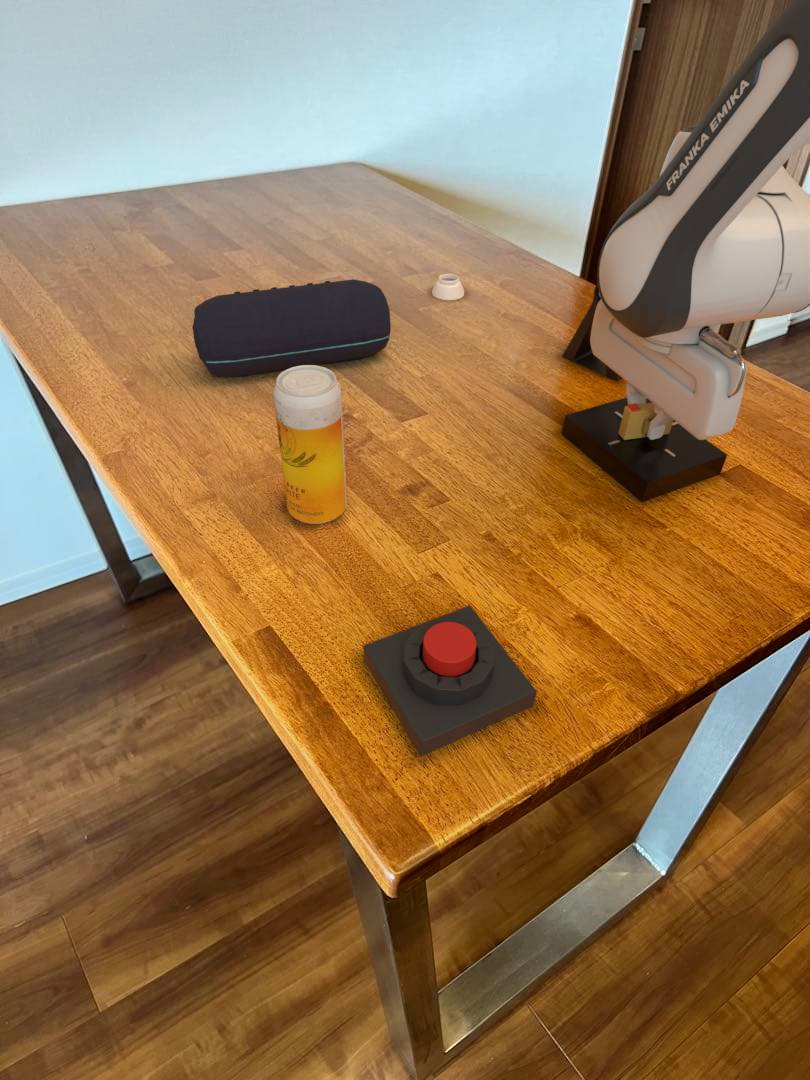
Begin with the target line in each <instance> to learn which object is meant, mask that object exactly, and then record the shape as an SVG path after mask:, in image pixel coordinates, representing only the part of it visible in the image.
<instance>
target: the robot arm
mask: <svg viewBox="0 0 810 1080" xmlns="http://www.w3.org/2000/svg"><path fill="white" fill-rule="evenodd" d="M809 143H810V0H792V1H791V2H790V3H789V4H788V5H787V6H786V7H785V9H784V10H782V12H781V13H780V14H779V15H778V16H777V18H776V19H775V20H774V21H773V23H772V24H771V25H770V26H769V27H768V29H767V30H766V31H765V33H763V35H762V37H761V38H760V39H759V40H758V41H757V43H756V44H755V45H754V46H753V48H752V49H751V51H750V52H749V54H748V55H747V56H745V59H743V61H742V63H741V64H740V65H739V67H738V68H737V70H736V71H735V72H734V73H733V75H732V76H731V78H730V79H729V81H728V82H727V83H726V84H725V86H724V88H723V89H722V90H721V91H720V93H719V94H718V96H717V97H716V98H715V100H714V101H713V103H712V104H711V105H710V107H709V108H708V110H707V111H706V112H705V113H704V115H703V117H702V118H700V120H699V122H698V123H694V124H691V125H687V126H686V127H684V128H683V129H681V130H680V131H679V132H677V134H676V135H675V137H674V139H673V140H672V143H671V144H670V147H669V148H668V151H667V153H666V156H665V160H664V162H663V164H662V167H661V170H660V173H659V177H658V178H657V179H656V181H654V183H653V184H652V185H651V186H650V187H649V188H648V190H646V191H645V192H644V193H643V194H642V195H640V196H639V197H638V198H637V199H636V200H635V201H634V202H632V203H631V204H630V205H629V206H628V208H627V209H625V211H624V212H623V213H622V214H621V216H619V218H618V219H617V220H616V222H615V223H614V225H612V228H611V229H610V231H609V232H608V234H607V236H606V238H605V239H604V242H603V244H602V247H601V249H600V253H599V257H598V263H597V270H596V271H597V273H596V280H597V282H596V283H597V284H598V289H599V296H600V297H601V300H600V301H599V303H598V304H597V307H596V310H595V315H594V319H593V324H592V330H591V336H590V344H591V349H592V352H593V354H594V355H595V356H596V357H597V358H598V359H600V360H601V361H602V362H603V363H605V364H606V365H607V366H608V367H610V368H611V369H612V370H613V371H614V372H616V373H617V374H618V375H619V376H621V377H622V378H623V379H622V380H624V381H625V382H626V383H625V394H626V398H627V401H628V404H637V405H638V404H646V398H647V399H648V400H650V401H651V402H652V403H654V404H655V409H654V412H655V413H656V414H657V415H656V417H654V418H653V419H646V420H644V424H643V427H644V428H642V432H643V433H644V434H645V435H646V436H647V437H648V438H649V439H651V440H653V439H658V438H660V437H662V436H663V434H664V430H665V427H666V424H668V423H669V422H670V421H671V420H672V419H673V420H675V421H676V422H677V423H678V424H679V425H681V426H682V427H683V428H684V429H686V430H687V431H688V432H689V433H690V434H692V435H693V436H694V437H695V438H697V439H699V440H710V439H714V438H718V437H721V436H724V435H727V434H729V433H730V432H731V431H733V429H734V427H735V425H736V422H737V420H738V416H739V413H740V408H741V404H742V401H743V395H744V390H745V385H746V384H745V383H746V376H747V373H748V366H747V365H746V363H745V359H744V357H743V356H742V350H741V348H739V346H738V345H736V344H735V343H733V342H730V341H728V340H726V339H725V338H724V337H723V336H722V335H720V334H719V332H720V328H721V326H722V325H727V324H736V323H743V322H746V321H755V320H763V319H772V318H777V317H783V316H787V315H790V314H796V313H799V312H802V311H804V310H806V309H807V308H808V307H810V194H809V193H808V192H807V191H806V190H805V189H803V188H802V186H800V184H799V183H798V182H797V181H796V180H795V179H794V178H793V176H791V175H790V173H789V172H788V171H787V169H786V168H785V167H784V165H785V164H786V162H787V161H789V160H790V159H791V157H793V156H794V155H795V154H796V153H798V152H799V151H800V150H801V149H802V148H803V147H805V146H806V145H808V144H809Z"/></svg>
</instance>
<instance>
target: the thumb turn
mask: <svg viewBox="0 0 810 1080" xmlns="http://www.w3.org/2000/svg"><path fill="white" fill-rule="evenodd" d="M654 409H655V404H654V403H646V404H638V405H637V404H628V406H625V409H624V413H623V417H622V421H621V425H620V429H619V435H620V436H621V437H622V438H623V440H628V439H636V438H643V437H647V436H646V435H645V434H644V433H643V432H642V428H644V427H643V424H644V420H646V419H653V418H654V417H656V415H657V414H656V413H655V412H654ZM672 423H673V419H672V420H671V421H670V422H669V423H668V424H666V427H665V430H664V434H663V435H665V434H669V433H670V430H671V426H672Z"/></svg>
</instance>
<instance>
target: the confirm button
mask: <svg viewBox="0 0 810 1080" xmlns="http://www.w3.org/2000/svg"><path fill="white" fill-rule="evenodd" d="M475 653H476V638H475V636H474V634H473V633H472V632H471V631H470V630H469V629H468V628H467V627H465V626H463V625H461V624H458V623H454V622H443V623H439V624H436V625H434V626H432V627H431V628H430V629H429V630H428V631H427V632H426V634H425V636H424V640H423V660H424V662H425V664H426V666H427V667H428V668H429V669H430V670H431V671H432V672H434V673H436V674H438V675H441V676H446V677H455V676H459V675H462V674H464V673H466V672H467V671H468V670H469V669H470V668H471V667H472V666H473V664H474V660H475Z"/></svg>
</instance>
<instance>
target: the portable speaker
mask: <svg viewBox="0 0 810 1080" xmlns="http://www.w3.org/2000/svg"><path fill="white" fill-rule="evenodd" d="M193 314H194V317H193V324H192V328H191V329H192V335H193V341H194V345H195V349H196V351H197V354H198V357H199V359H200V361H202V363H203V365H204V367H206V369H207V370H208V372H209V374H210V375H212V376H216V377H241V376H249V375H254V374H261V373H269V372H275V371H276V372H277V371H285V370H287V369H289V368H292V367H296V366H301V365H316V366H319V365H325V364H332V363H339V362H346V361H352V360H360V359H364V358H367V357H370V356H374V355H376V354H378V353H380V352H381V351H383V350H384V349H385V348H387V345H388V343H389V341H390V336H391V329H392V328H391V310H390V306H389V303H388V300H387V297H386V296H385V294H384V292H383V291H382V288H380V286H378V285H376V284H374V283H371V282H368V281H365V280H359V279H353V278H352V279H346V280H337V281H331V280H325V281H323V282H320V283H319V282H318V283H313V282H307V283H306V284H302V285H295V284H291V285H289V286H286V287H276V286H274V287H271V288H270V289H261V290H260V289H258V288H257V289H252V290H251V291H244V292H241V291H234V292H233V293H227V294H220V295H215V296H212V297H210V298H208V299H205V300H204V301H202V302H201V303H199V304H198V305H197V306H195V308H194V311H193Z"/></svg>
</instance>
